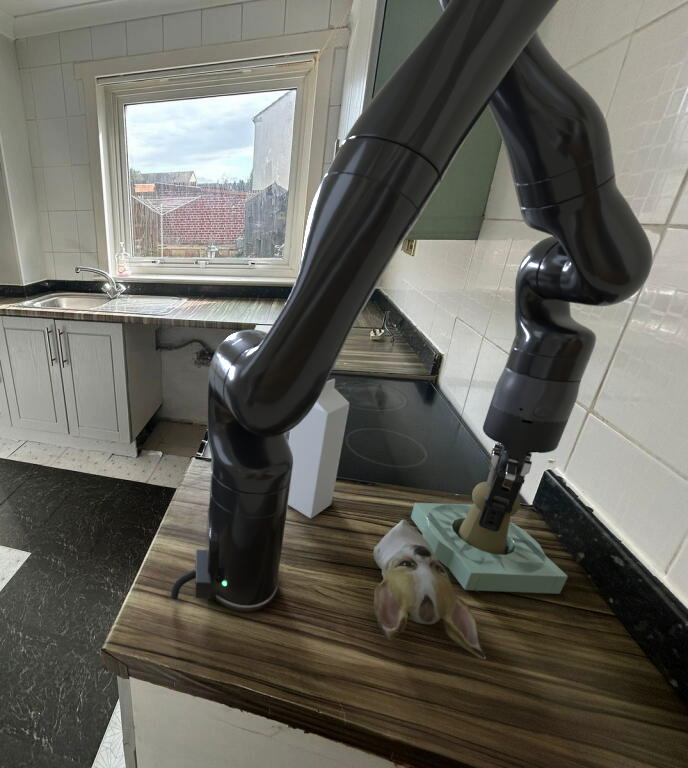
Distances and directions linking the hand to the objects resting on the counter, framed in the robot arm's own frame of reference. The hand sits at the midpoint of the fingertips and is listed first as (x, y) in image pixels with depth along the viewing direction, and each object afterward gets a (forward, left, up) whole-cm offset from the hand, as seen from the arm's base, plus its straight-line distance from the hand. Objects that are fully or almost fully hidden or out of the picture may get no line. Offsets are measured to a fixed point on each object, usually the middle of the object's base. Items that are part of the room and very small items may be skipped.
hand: (489, 515), depth 56 cm
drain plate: (0, 0, -6) cm, 6 cm away
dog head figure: (-14, -10, -7) cm, 18 cm away
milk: (-22, +10, -7) cm, 25 cm away
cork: (0, 0, -7) cm, 7 cm away
